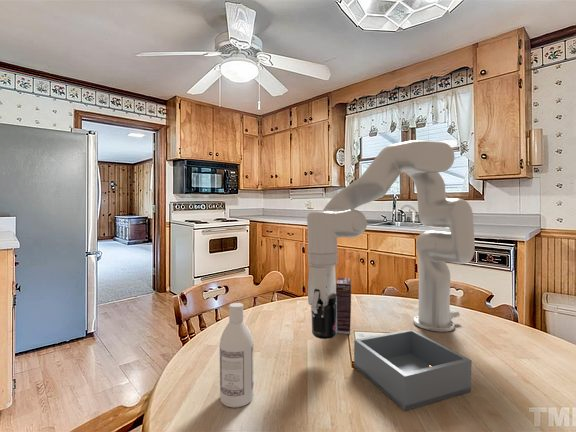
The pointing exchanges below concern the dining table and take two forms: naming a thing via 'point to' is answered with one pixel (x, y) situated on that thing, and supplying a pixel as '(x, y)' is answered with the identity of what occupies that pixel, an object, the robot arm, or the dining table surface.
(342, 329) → the supplement box
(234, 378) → the bath foam
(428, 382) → the tote
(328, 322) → the supplement container
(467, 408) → the dining table surface
